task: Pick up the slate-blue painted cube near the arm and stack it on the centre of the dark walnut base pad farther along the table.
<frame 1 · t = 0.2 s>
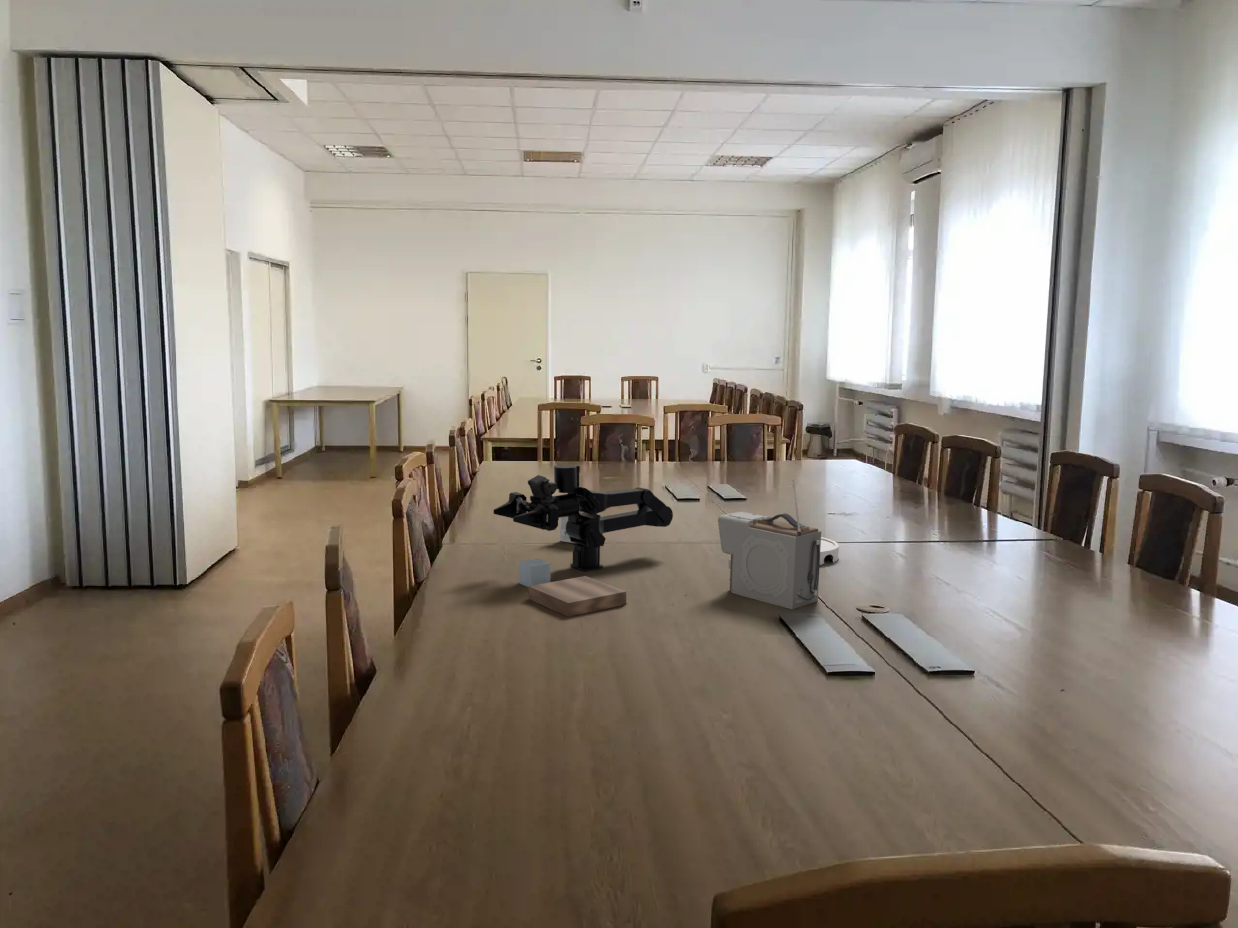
hand: (503, 515, 221), 17 cm above the table, tool horizontal, fingers open, 9 cm apart
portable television: (765, 596, 216), on the table
ink cartridge box: (578, 542, 267), on the table
slate cube: (534, 584, 222), on the table
ashtray: (796, 557, 256), on the table
walnut base: (577, 601, 208), on the table
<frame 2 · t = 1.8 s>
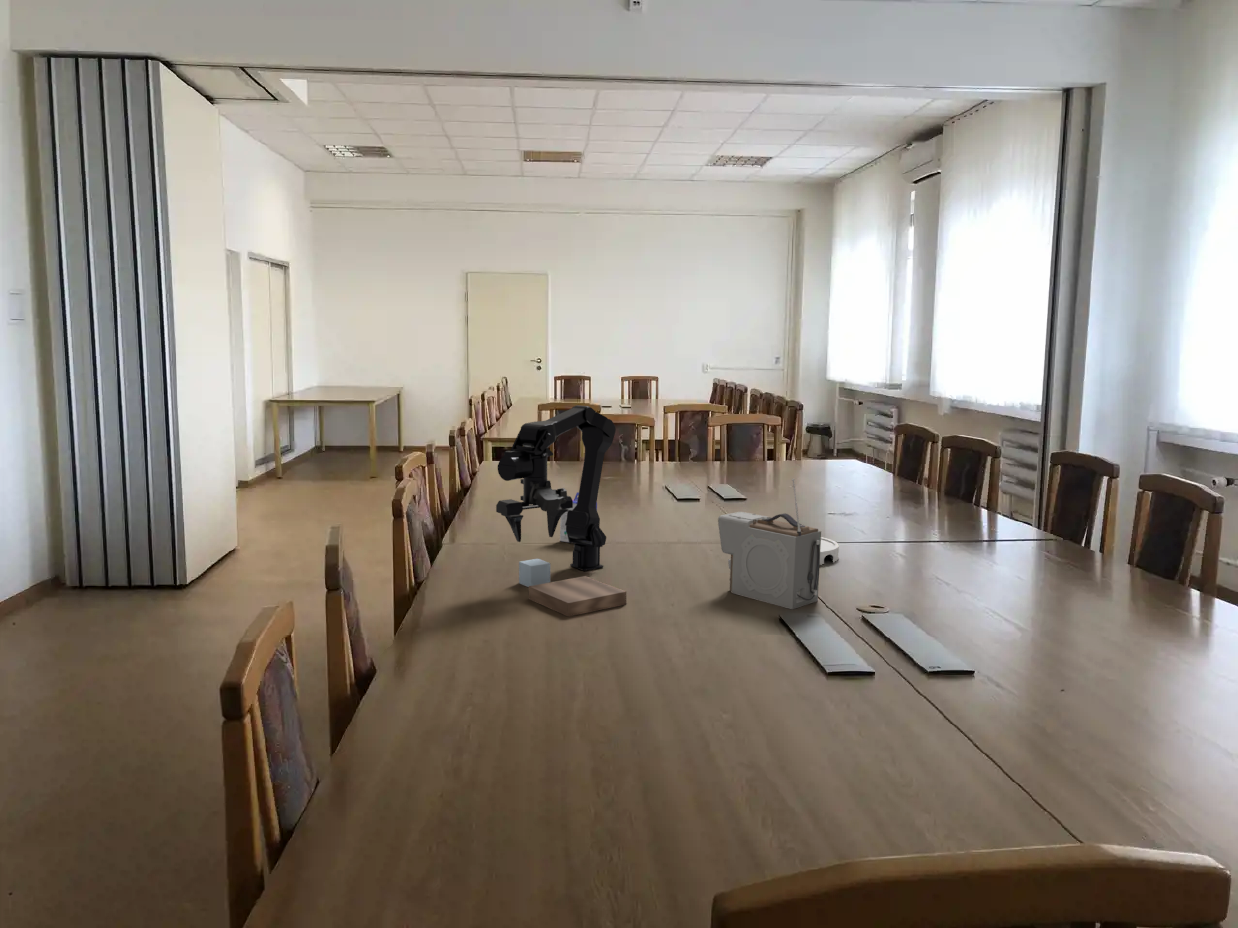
hand: (535, 539, 220), 11 cm above the table, tool pointing down, fingers open, 9 cm apart
nothing on the table moved.
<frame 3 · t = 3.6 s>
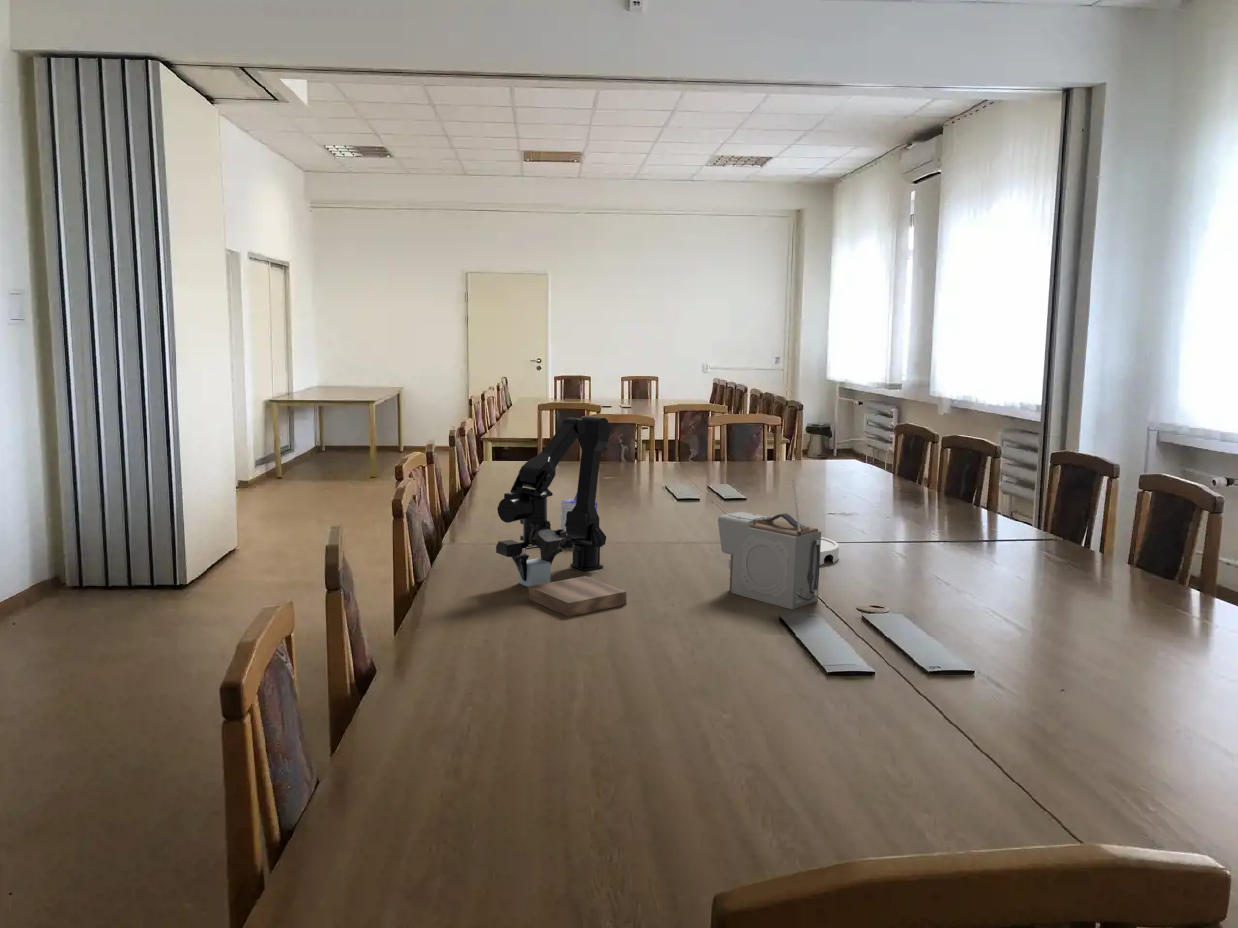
hand: (534, 578, 221), 1 cm above the table, tool pointing down, fingers closed on slate cube, 5 cm apart
slate cube: (534, 583, 222), on the table, touching gripper
everything else where it was.
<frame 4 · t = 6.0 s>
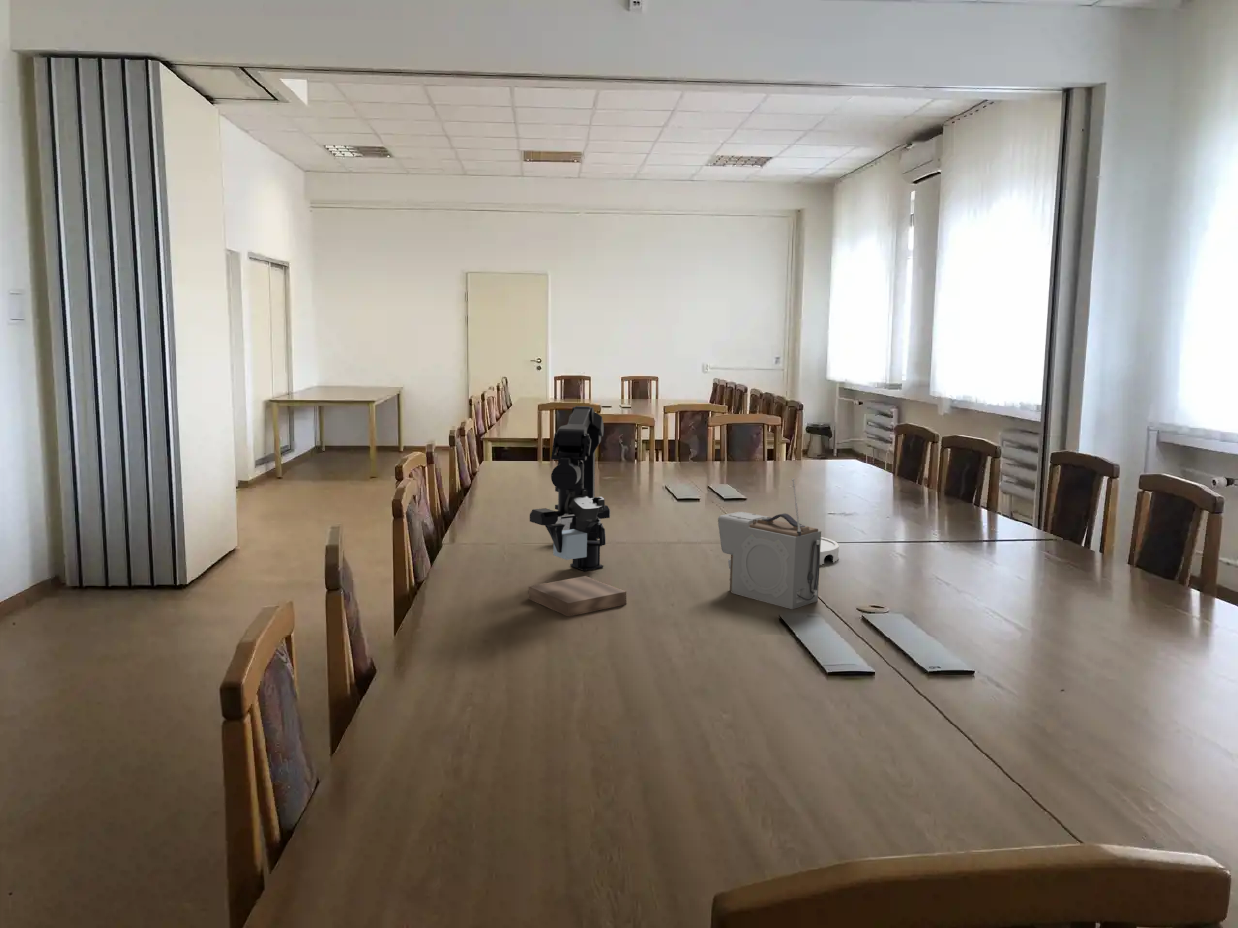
hand: (570, 550, 208), 11 cm above the table, tool pointing down, fingers closed on slate cube, 5 cm apart
slate cube: (569, 556, 208), point 10 cm above the table, touching gripper
everything else where it was.
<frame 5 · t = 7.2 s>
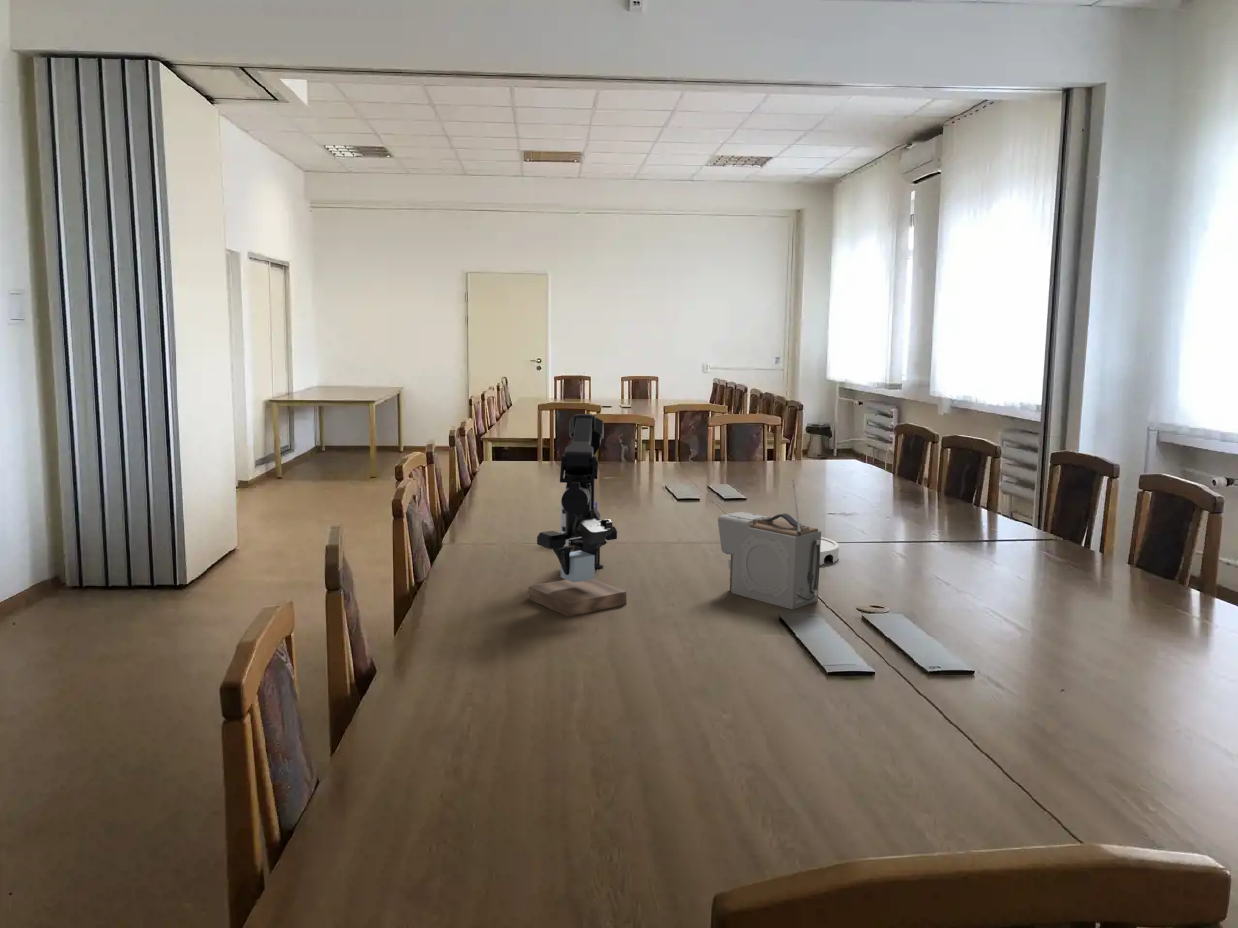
hand: (577, 572, 207), 7 cm above the table, tool pointing down, fingers closed on slate cube, 5 cm apart
slate cube: (577, 577, 207), point 6 cm above the table, touching gripper
everything else where it was.
when the fingers open (6 cm above the table, at t = 8.3 s): slate cube drops 2 cm, resting on walnut base.
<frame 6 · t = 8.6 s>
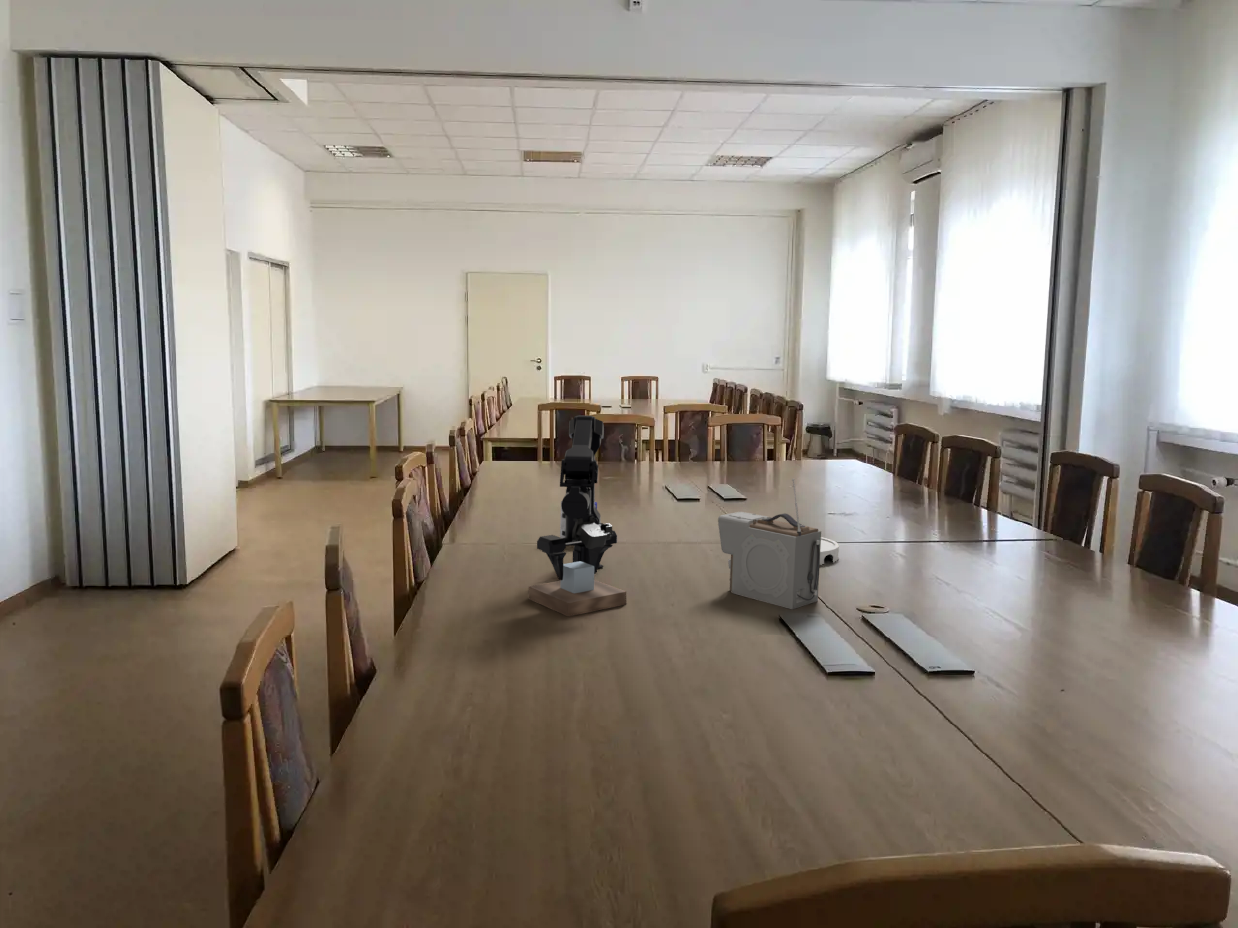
hand: (577, 576, 207), 6 cm above the table, tool pointing down, fingers open, 9 cm apart
slate cube: (577, 588, 207), point 3 cm above the table, touching walnut base
everything else where it was.
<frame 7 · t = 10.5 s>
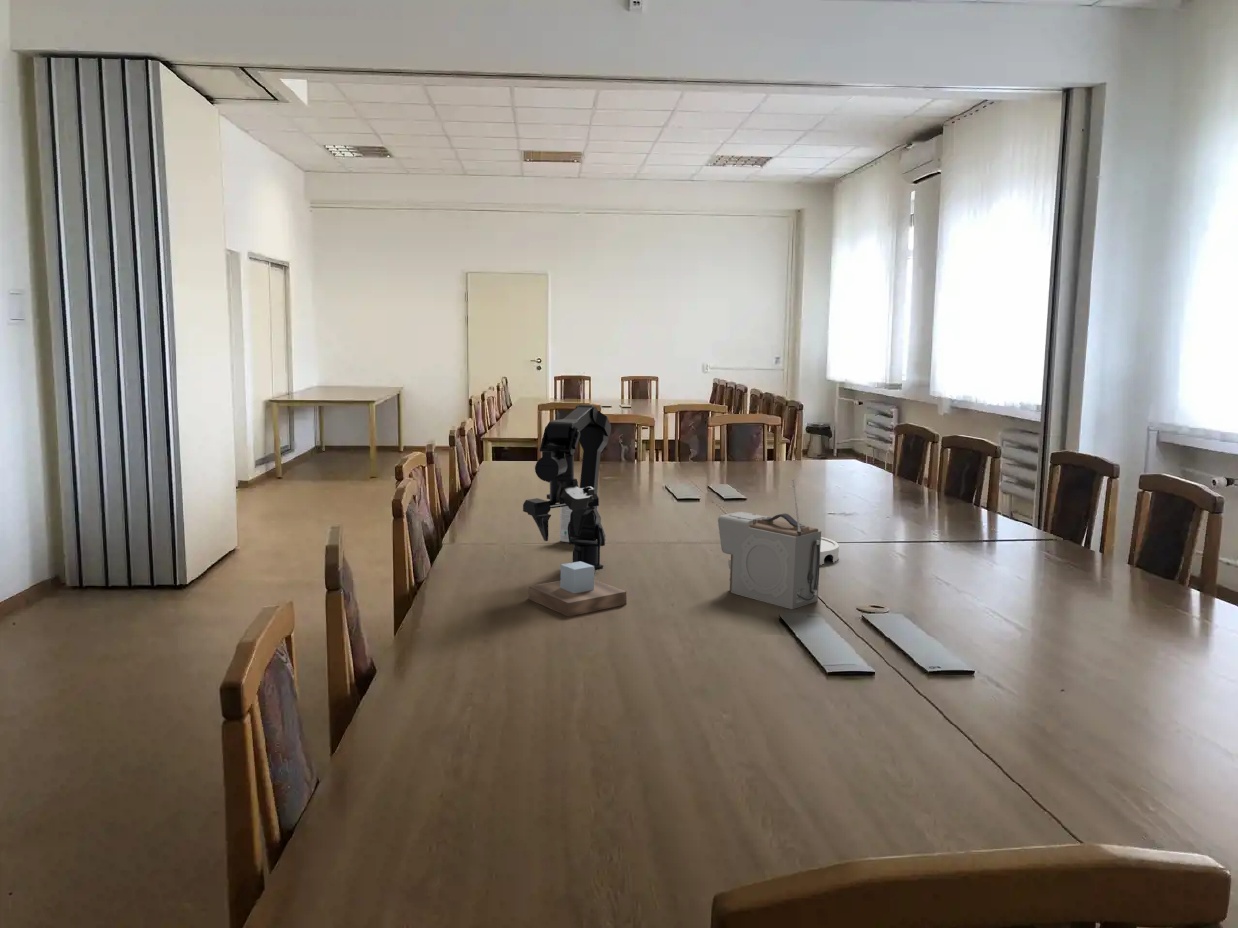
hand: (561, 538, 218), 12 cm above the table, tool pointing down, fingers open, 9 cm apart
nothing on the table moved.
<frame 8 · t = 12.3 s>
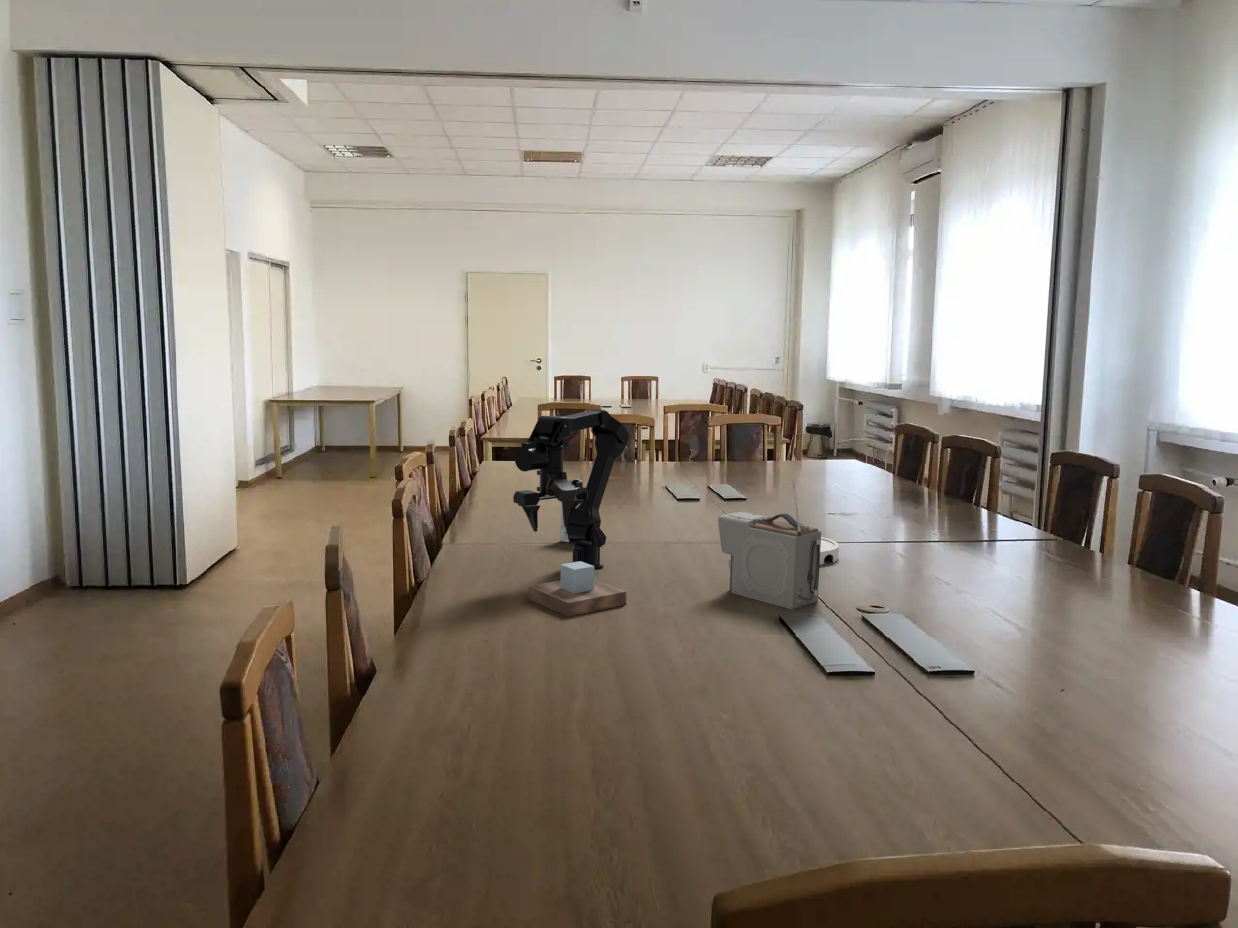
hand: (551, 529, 225), 13 cm above the table, tool pointing down, fingers open, 9 cm apart
nothing on the table moved.
at the end: slate cube inside the target area on the walnut base (0.0 cm from its centre), point 3.0 cm above the walnut base's base; slate cube tilted 0°; the gripper is holding nothing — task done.
